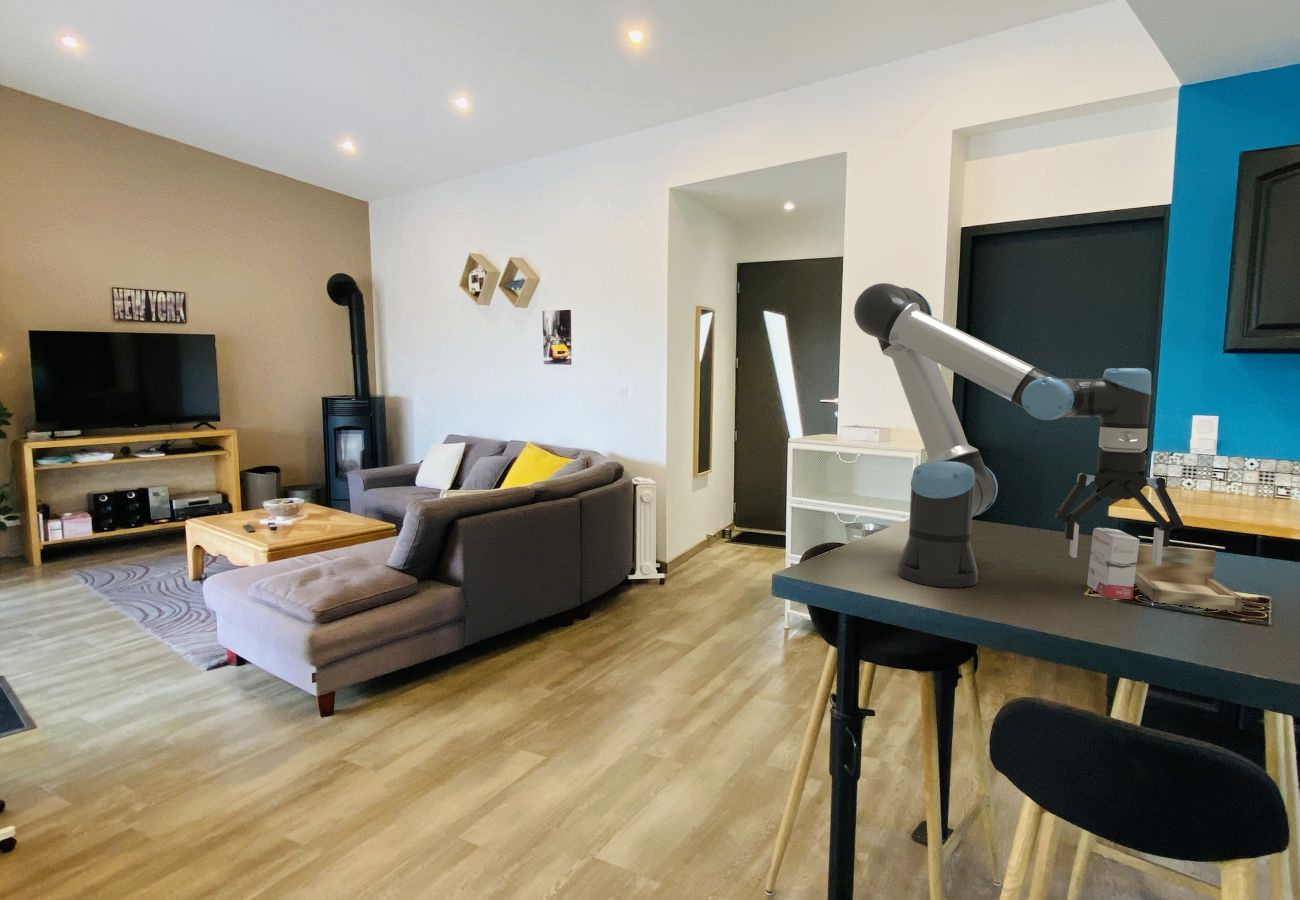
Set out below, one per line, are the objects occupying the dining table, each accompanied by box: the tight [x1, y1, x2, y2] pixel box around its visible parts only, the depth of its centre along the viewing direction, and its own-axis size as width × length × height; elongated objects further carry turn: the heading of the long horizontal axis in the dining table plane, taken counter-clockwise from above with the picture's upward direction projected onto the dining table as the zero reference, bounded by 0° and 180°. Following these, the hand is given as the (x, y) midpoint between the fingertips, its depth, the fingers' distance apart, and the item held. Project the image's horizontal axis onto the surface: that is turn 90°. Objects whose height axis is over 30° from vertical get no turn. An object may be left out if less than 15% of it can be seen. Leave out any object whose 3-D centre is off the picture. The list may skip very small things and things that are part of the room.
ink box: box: [1086, 527, 1141, 600], centre depth 131 cm, size 9×5×12 cm, turn 168°
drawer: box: [1134, 543, 1243, 613], centre depth 130 cm, size 13×14×8 cm
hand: (1113, 559), depth 131 cm, fingers open, 13 cm apart
